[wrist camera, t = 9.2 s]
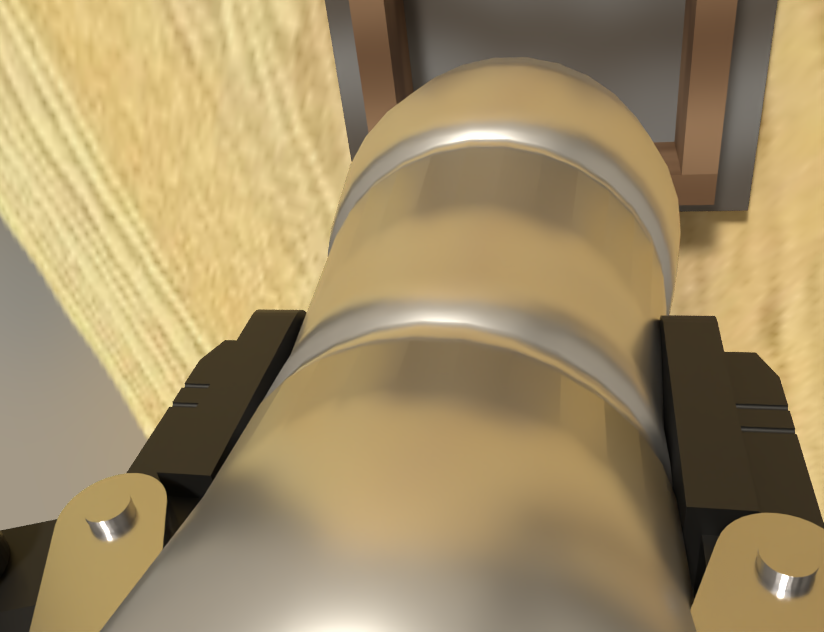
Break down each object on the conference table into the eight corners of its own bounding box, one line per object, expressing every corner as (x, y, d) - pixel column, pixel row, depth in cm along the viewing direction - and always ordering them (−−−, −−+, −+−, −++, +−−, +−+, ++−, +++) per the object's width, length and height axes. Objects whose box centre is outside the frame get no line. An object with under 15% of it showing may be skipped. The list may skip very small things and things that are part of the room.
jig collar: (297, -221, 26) (257, -218, 23) (811, -294, 23) (847, -302, 20) (365, 206, 35) (343, 250, 32) (743, 199, 32) (760, 248, 29)
